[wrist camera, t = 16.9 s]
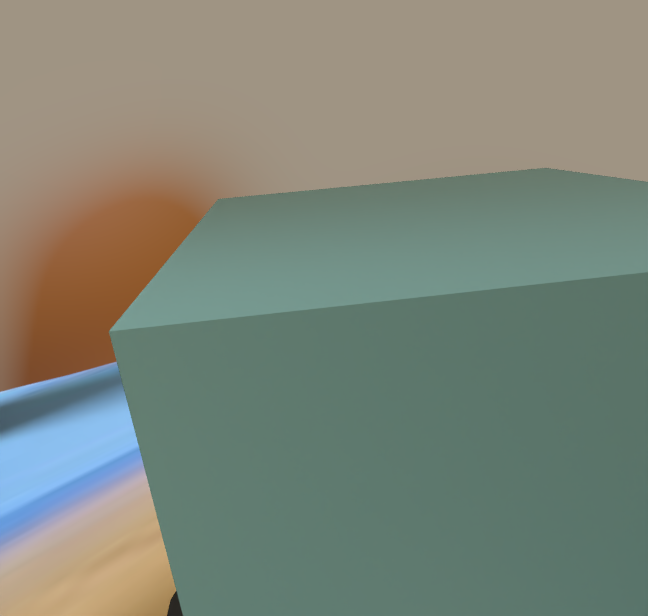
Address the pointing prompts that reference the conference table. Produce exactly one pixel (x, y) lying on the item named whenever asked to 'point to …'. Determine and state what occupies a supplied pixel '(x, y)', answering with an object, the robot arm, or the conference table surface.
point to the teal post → (402, 399)
